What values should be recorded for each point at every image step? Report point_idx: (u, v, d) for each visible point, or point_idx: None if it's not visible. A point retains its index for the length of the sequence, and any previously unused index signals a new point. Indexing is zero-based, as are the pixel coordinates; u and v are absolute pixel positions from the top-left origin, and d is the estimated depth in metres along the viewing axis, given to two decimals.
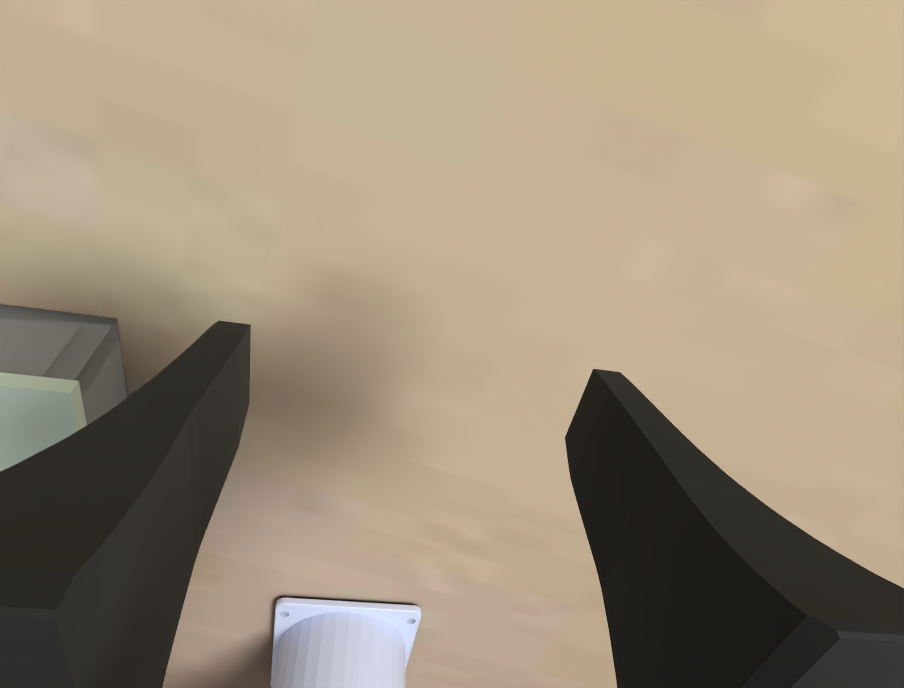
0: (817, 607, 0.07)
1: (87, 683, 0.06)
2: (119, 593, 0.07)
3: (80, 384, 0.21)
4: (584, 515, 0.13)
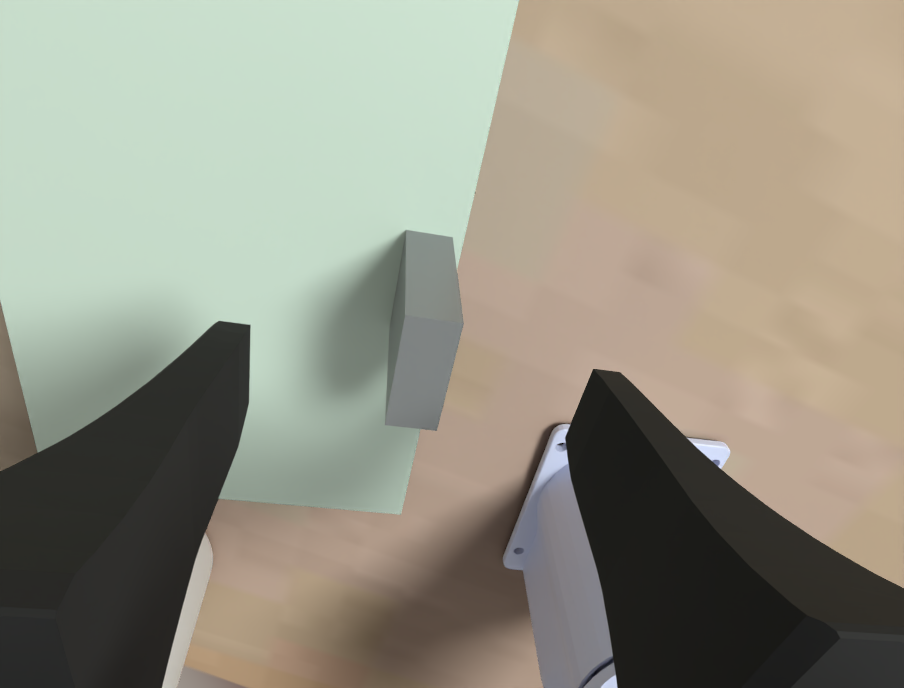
0: (817, 607, 0.07)
1: (87, 683, 0.06)
2: (119, 593, 0.07)
3: None
4: (584, 514, 0.13)
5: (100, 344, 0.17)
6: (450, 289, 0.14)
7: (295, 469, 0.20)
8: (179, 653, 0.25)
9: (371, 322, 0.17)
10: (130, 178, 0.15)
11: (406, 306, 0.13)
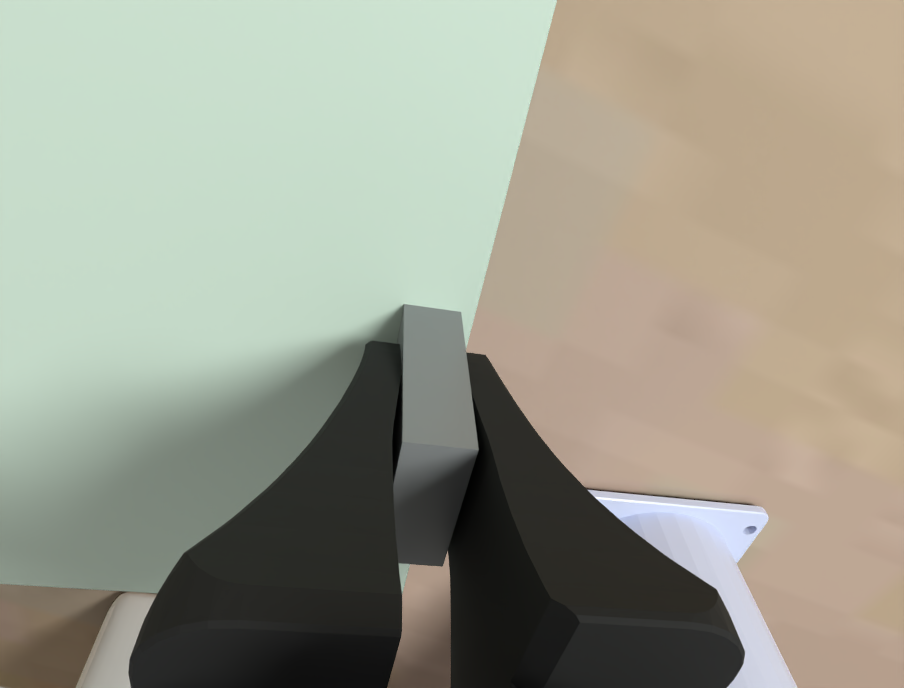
0: (570, 590, 0.07)
1: None
2: None
3: None
4: None
5: (34, 435, 0.14)
6: (460, 394, 0.11)
7: None
8: None
9: None
10: (57, 247, 0.12)
11: (404, 427, 0.10)
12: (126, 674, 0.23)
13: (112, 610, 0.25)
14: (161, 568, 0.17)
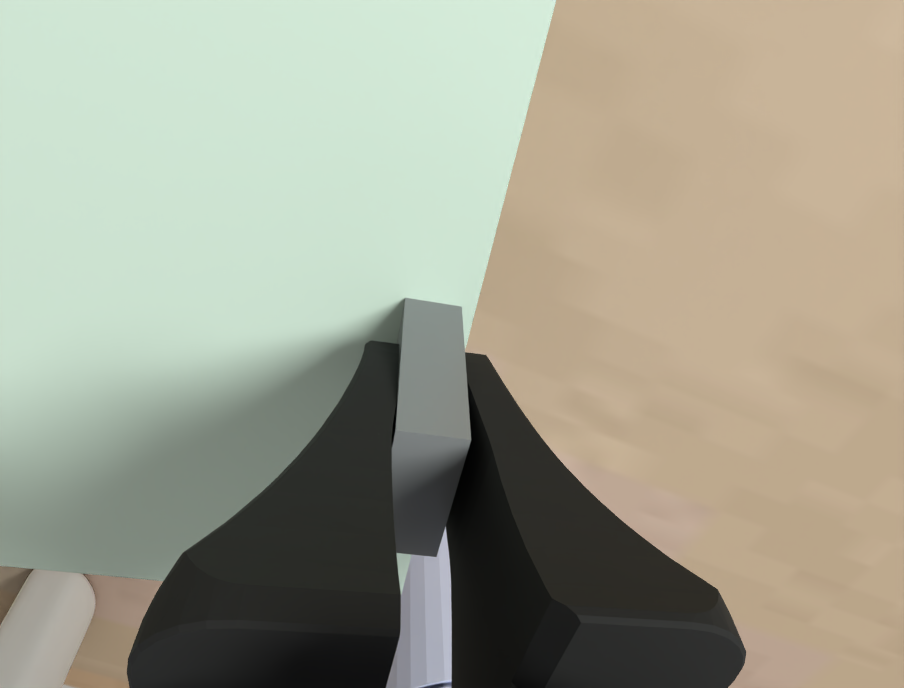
0: (571, 590, 0.07)
1: None
2: None
3: None
4: None
5: (44, 420, 0.15)
6: (456, 386, 0.11)
7: None
8: None
9: None
10: (68, 235, 0.12)
11: (398, 416, 0.10)
12: (31, 628, 0.29)
13: (26, 580, 0.31)
14: (166, 556, 0.18)
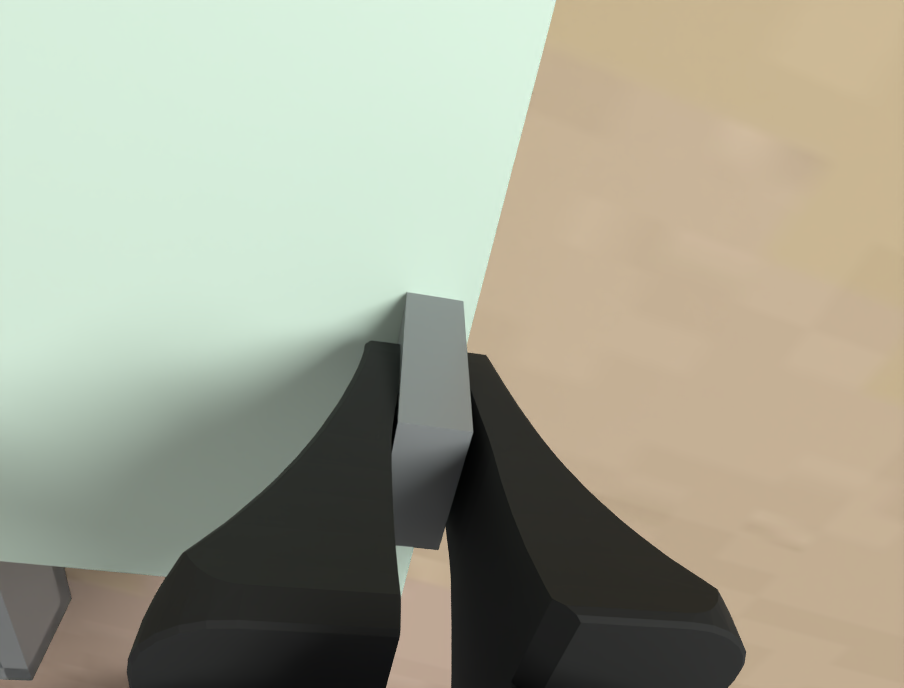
0: (571, 590, 0.07)
1: None
2: None
3: None
4: None
5: (47, 415, 0.15)
6: (458, 379, 0.11)
7: None
8: None
9: None
10: (71, 229, 0.12)
11: (400, 408, 0.10)
12: None
13: None
14: (168, 551, 0.18)
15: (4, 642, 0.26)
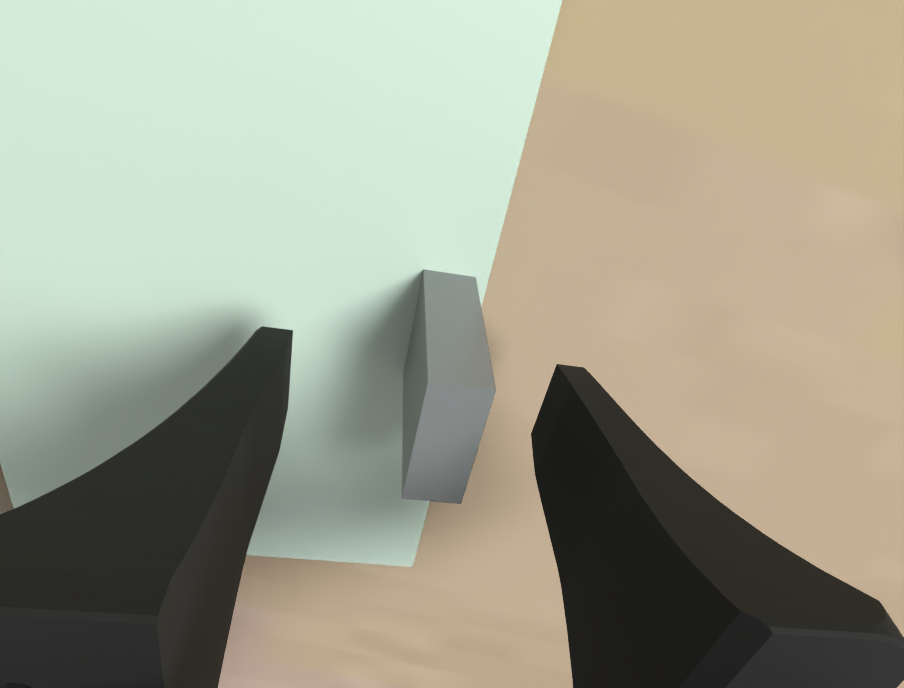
0: (753, 603, 0.07)
1: (172, 685, 0.06)
2: (196, 598, 0.07)
3: None
4: (546, 511, 0.13)
5: (80, 394, 0.15)
6: (477, 345, 0.12)
7: (297, 522, 0.19)
8: None
9: (383, 368, 0.15)
10: (109, 214, 0.13)
11: (428, 370, 0.11)
12: None
13: None
14: None
15: None
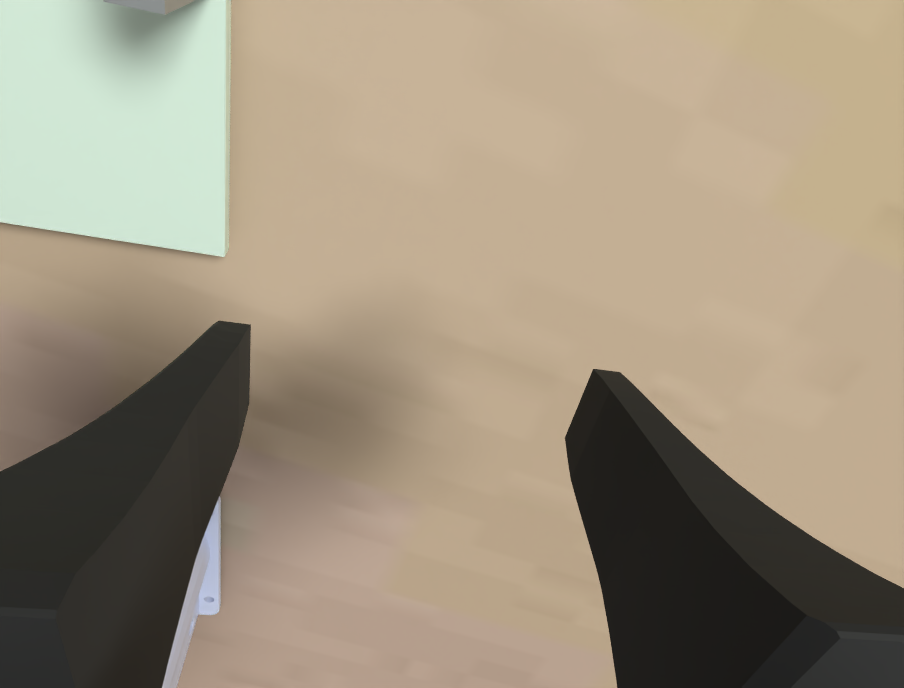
0: (817, 607, 0.07)
1: (87, 682, 0.06)
2: (119, 593, 0.07)
3: None
4: (584, 514, 0.13)
5: None
6: None
7: (97, 186, 0.19)
8: None
9: None
10: None
11: None
12: None
13: None
14: None
15: None
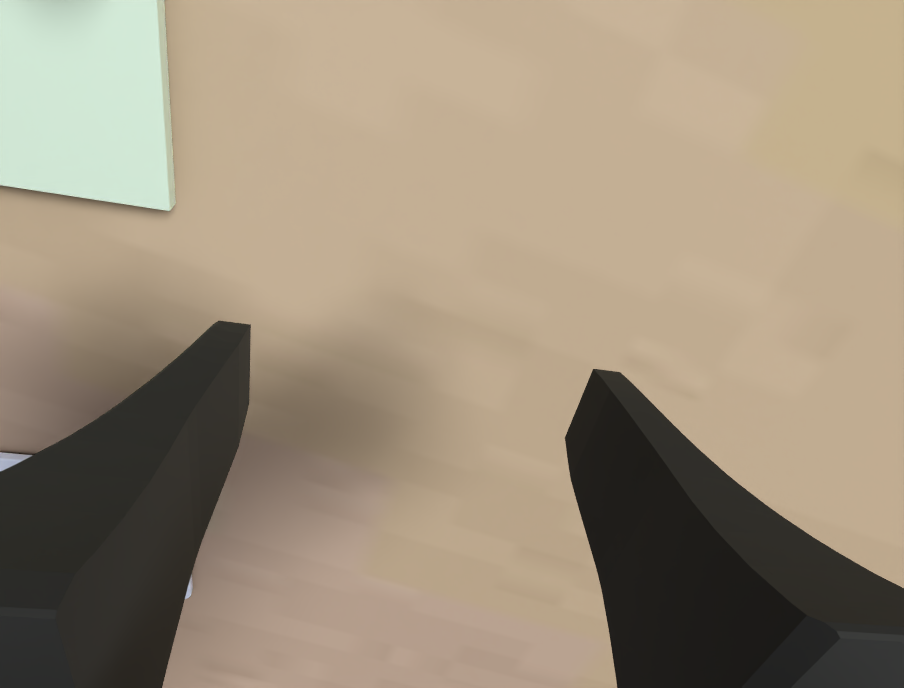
0: (817, 607, 0.07)
1: (87, 683, 0.06)
2: (119, 593, 0.07)
3: None
4: (584, 514, 0.13)
5: None
6: None
7: (30, 133, 0.18)
8: None
9: None
10: None
11: None
12: None
13: None
14: None
15: None
